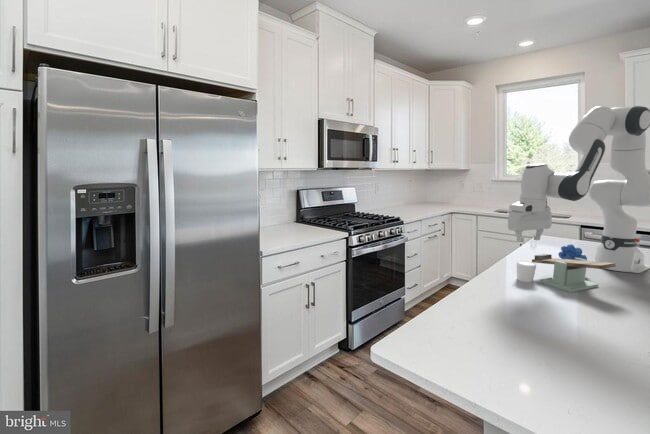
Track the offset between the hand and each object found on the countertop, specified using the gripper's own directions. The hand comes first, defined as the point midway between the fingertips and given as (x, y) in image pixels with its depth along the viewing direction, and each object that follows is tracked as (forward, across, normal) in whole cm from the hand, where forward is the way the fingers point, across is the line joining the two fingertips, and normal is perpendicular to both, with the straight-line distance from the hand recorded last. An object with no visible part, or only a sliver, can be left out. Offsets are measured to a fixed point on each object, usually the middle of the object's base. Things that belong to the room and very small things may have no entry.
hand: (528, 240), depth 140 cm
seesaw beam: (+8, -11, +10) cm, 17 cm away
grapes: (+16, -27, 0) cm, 32 cm away
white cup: (+16, 0, 0) cm, 16 cm away
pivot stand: (+16, -11, +10) cm, 22 cm away
